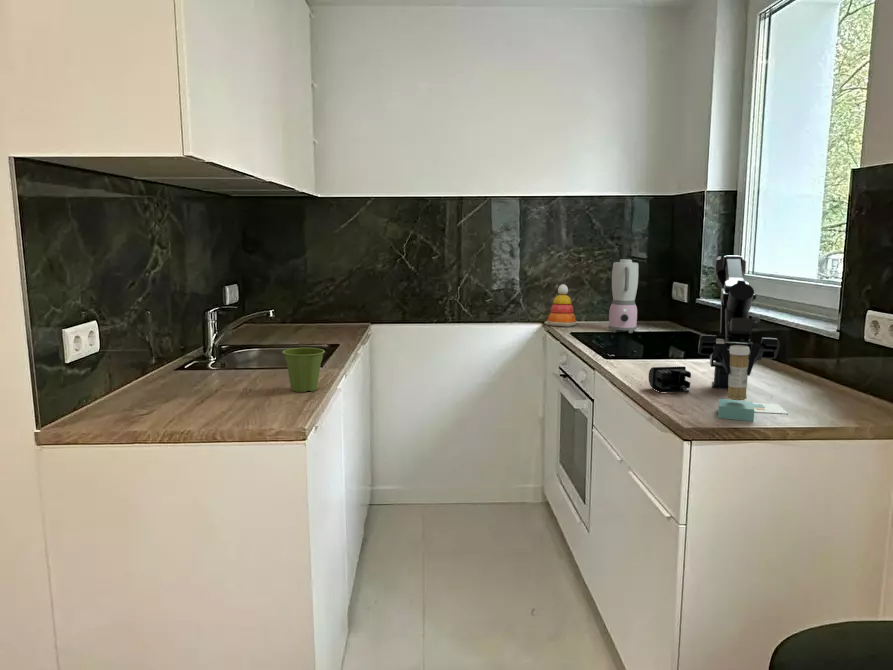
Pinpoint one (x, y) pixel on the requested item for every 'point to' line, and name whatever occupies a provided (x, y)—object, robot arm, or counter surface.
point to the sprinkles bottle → (738, 372)
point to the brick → (736, 410)
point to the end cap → (669, 379)
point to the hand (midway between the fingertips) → (738, 374)
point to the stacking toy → (562, 310)
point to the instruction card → (768, 408)
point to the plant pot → (303, 367)
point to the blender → (624, 296)
